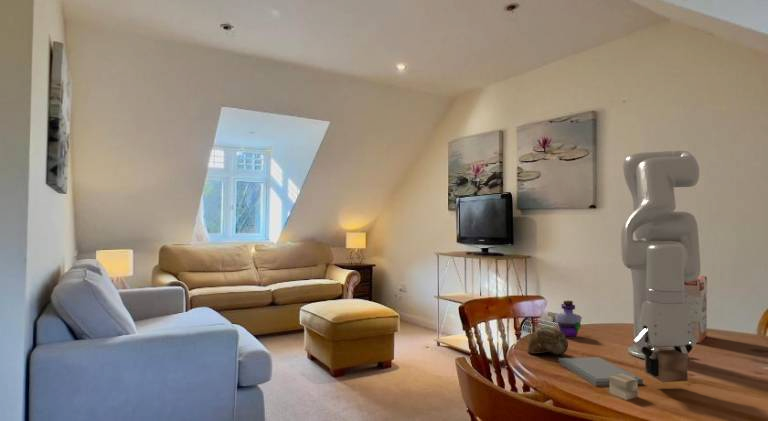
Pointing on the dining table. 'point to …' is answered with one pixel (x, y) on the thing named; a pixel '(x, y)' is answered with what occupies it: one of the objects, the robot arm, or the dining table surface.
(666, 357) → the walnut cube
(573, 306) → the potion bottle
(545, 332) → the grey-brown rock
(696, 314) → the cracker box
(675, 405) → the dining table surface
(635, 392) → the beech block
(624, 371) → the plate
